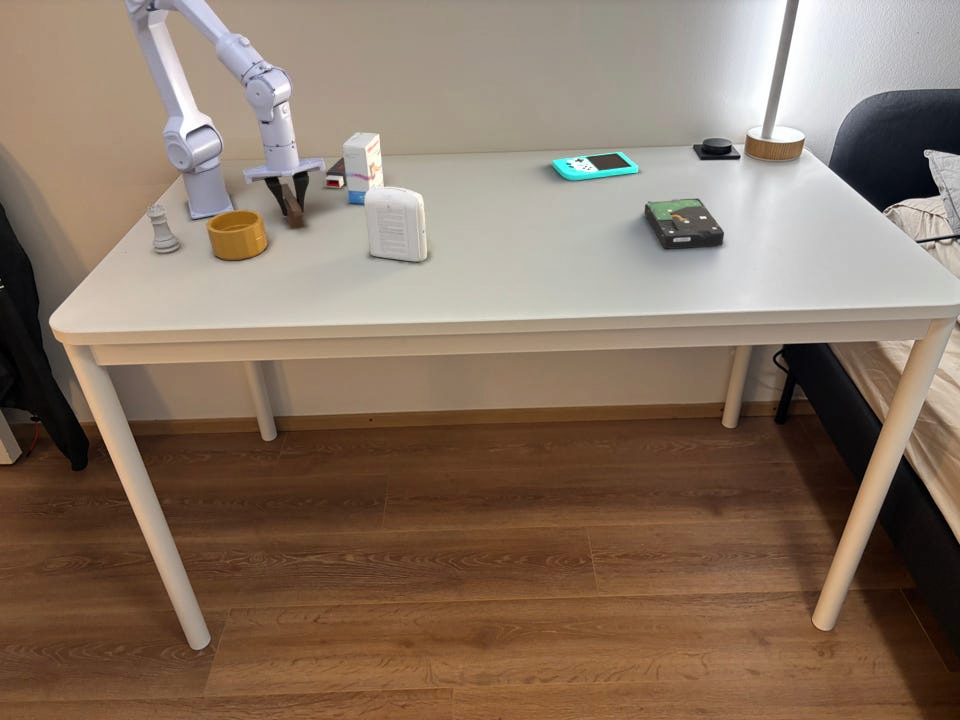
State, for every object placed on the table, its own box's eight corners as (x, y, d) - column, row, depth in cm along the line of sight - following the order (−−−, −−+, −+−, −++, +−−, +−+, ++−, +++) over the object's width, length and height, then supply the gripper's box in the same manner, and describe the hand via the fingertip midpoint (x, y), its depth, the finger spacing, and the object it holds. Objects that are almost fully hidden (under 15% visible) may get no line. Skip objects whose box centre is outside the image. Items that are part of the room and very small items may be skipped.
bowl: (211, 243, 135) (203, 215, 132) (263, 233, 138) (257, 206, 134) (217, 265, 128) (209, 236, 124) (271, 254, 130) (265, 226, 127)
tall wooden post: (281, 210, 146) (276, 185, 143) (294, 207, 147) (289, 182, 144) (295, 238, 135) (290, 211, 132) (308, 235, 136) (304, 209, 133)
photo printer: (431, 253, 129) (426, 185, 122) (422, 264, 126) (416, 195, 118) (377, 246, 132) (368, 180, 124) (367, 257, 128) (357, 190, 121)
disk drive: (723, 247, 127) (696, 210, 139) (726, 232, 126) (699, 196, 138) (664, 251, 127) (642, 213, 139) (665, 236, 125) (644, 200, 137)
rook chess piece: (185, 245, 135) (173, 203, 130) (169, 256, 131) (156, 214, 127) (165, 242, 136) (152, 201, 131) (149, 252, 133) (135, 211, 128)
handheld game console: (551, 164, 161) (551, 158, 160) (620, 156, 164) (620, 150, 163) (566, 181, 153) (567, 175, 152) (638, 172, 156) (639, 166, 155)
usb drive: (364, 168, 163) (363, 156, 162) (344, 189, 154) (343, 176, 152) (342, 167, 164) (340, 154, 163) (321, 187, 155) (319, 175, 153)
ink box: (372, 205, 147) (365, 146, 140) (348, 203, 147) (340, 145, 141) (385, 188, 153) (379, 131, 146) (362, 187, 154) (355, 130, 147)
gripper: (240, 155, 127) (257, 228, 135) (324, 142, 131) (335, 213, 139) (235, 143, 132) (251, 213, 140) (315, 130, 137) (326, 199, 144)
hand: (292, 212), depth 140 cm, fingers closed on tall wooden post, 2 cm apart
